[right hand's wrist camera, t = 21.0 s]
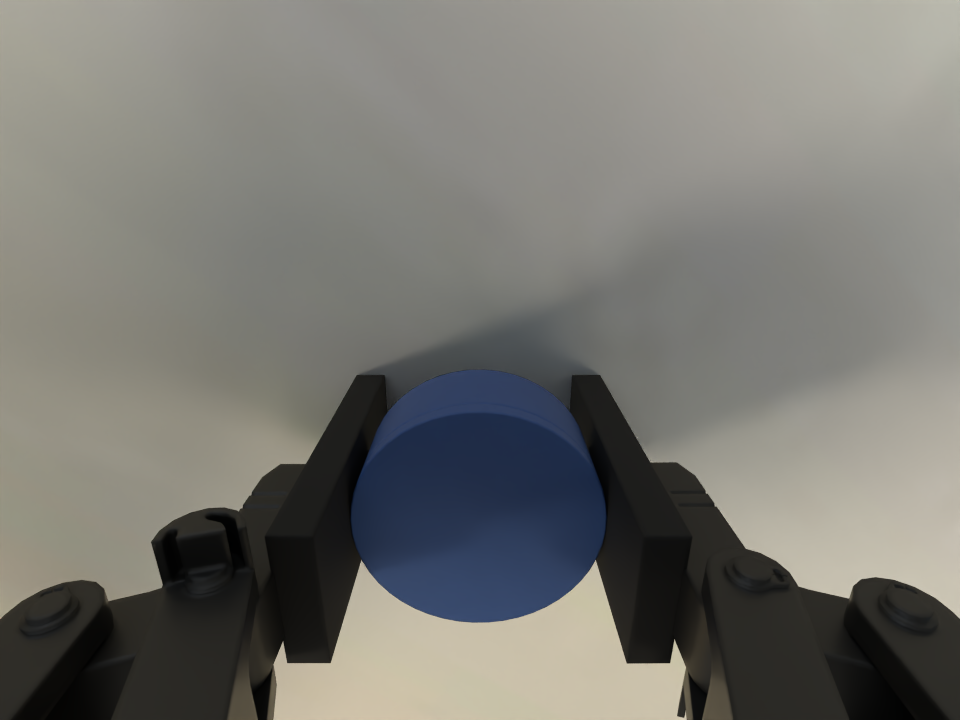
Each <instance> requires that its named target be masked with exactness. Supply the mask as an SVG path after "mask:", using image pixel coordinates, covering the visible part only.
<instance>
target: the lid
mask: <svg viewBox="0 0 960 720" xmlns="http://www.w3.org/2000/svg"><path fill="white" fill-rule="evenodd" d="M350 521H351V529H352V535H353V539H354V542H355V546H356V549H357V551H358V553H359V555H360V557H361V559H362V561H363V563H364V564H365V566H366V568H367V569H368V571H369V572H370V573H371V575H372V576H373V577H374V578H375V579H376V580H377V582H378V583H379V584H380V585H382V586H383V587H384V588H385V589H386V590H387V591H388V592H389V593H391V594H392V595H393V596H395V597H396V598H398V599H399V600H401V601H402V602H404V603H406V604H408V605H409V606H411V607H413V608H415V609H417V610H420V611H422V612H425V613H427V614H430V615H433V616H437V617H440V618H444V619H449V620H454V621H462V622H496V621H504V620H509V619H514V618H518V617H521V616H524V615H528V614H531V613H534V612H536V611H538V610H540V609H542V608H545V607H547V606H549V605H550V604H552V603H554V602H555V601H557V600H559V599H560V598H562V597H563V596H564V595H566V594H567V593H568V592H570V591H571V590H572V589H573V588H574V587H575V586H576V585H577V584H578V583H579V582H580V581H581V580H582V579H583V578H584V576H585V575H586V574H587V573H588V571H589V570H590V569H591V567H592V565H593V563H594V562H595V560H596V558H597V556H598V554H599V552H600V549H601V547H602V544H603V540H604V536H605V532H606V522H607V510H606V501H605V497H604V493H603V489H602V486H601V483H600V481H599V478H598V475H597V472H596V470H595V467H594V464H593V462H592V459H591V456H590V453H589V451H588V448H587V445H586V443H585V440H584V437H583V435H582V432H581V430H580V428H579V425H578V424H577V422H576V420H575V419H574V417H573V416H572V414H571V413H570V412H569V410H568V409H567V408H566V407H565V406H564V404H563V403H562V402H560V401H559V400H558V399H557V398H556V397H555V396H554V395H553V394H551V393H550V392H548V391H547V390H546V389H544V388H543V387H541V386H539V385H537V384H535V383H534V382H532V381H530V380H527V379H525V378H522V377H519V376H517V375H514V374H509V373H505V372H501V371H492V370H465V371H458V372H452V373H448V374H445V375H441V376H438V377H435V378H433V379H431V380H428V381H426V382H424V383H422V384H420V385H418V386H417V387H415V388H413V389H412V390H410V391H409V392H408V393H406V394H405V395H404V396H403V397H401V398H400V399H399V400H398V401H397V402H396V403H395V404H394V405H393V406H392V407H391V409H390V410H389V411H388V413H387V414H386V415H385V417H384V418H383V420H382V422H381V424H380V425H379V427H378V429H377V432H376V434H375V437H374V439H373V442H372V445H371V447H370V450H369V452H368V455H367V458H366V460H365V463H364V465H363V468H362V471H361V473H360V476H359V478H358V481H357V484H356V487H355V489H354V492H353V497H352V502H351V515H350Z"/></svg>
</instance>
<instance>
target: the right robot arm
mask: <svg viewBox="0 0 960 720" xmlns="http://www.w3.org/2000/svg"><path fill="white" fill-rule="evenodd" d="M570 413H571V414H572V416H573V417H574V419H575V420H576V422H577V424H578V425H579V428H580V430H581V432H582V435H583V437H584V440H585V443H586V445H587V448H588V451H589V453H590V456H591V459H592V462H593V464H594V467H595V470H596V472H597V475H598V478H599V481H600V483H601V486H602V489H603V493H604V497H605V501H606V510H607V522H606V532H605V536H604V540H603V544H602V547H601V549H600V552H599V554H598V556H597V558H596V562H597V565H598V568H599V572H600V575H601V578H602V582H603V585H604V588H605V592H606V595H607V598H608V602H609V605H610V609H611V612H612V615H613V619H614V622H615V625H616V629H617V632H618V635H619V639H620V642H621V645H622V649H623V652H624V655H625V659H626V662H627V663H670V661H671V655H672V649H673V644H674V639H675V641H676V644H677V646H678V648H679V651H680V653H681V656H682V658H683V661H684V663H685V665H686V671H685V676H684V681H683V686H682V691H681V697H680V702H679V708H678V714H677V716H679V717H683V718H684V716H685V711H686V716H687V720H960V619H959V618H958V617H957V616H956V615H955V614H954V613H953V612H952V611H951V610H950V609H948V608H947V607H946V606H944V605H943V604H942V603H941V602H939V601H938V600H937V599H936V598H934V597H932V596H930V595H928V594H927V593H925V592H923V591H921V590H919V589H917V588H915V587H913V586H910V585H907V584H904V583H901V582H898V581H896V580H891V579H884V578H877V577H874V578H868V579H861V580H860V581H859V582H858V583H857V584H855V585H854V586H853V589H852V592H851V595H850V598H849V599H848V598H843V597H839V596H834V595H830V594H826V593H821V592H817V591H812V590H808V589H805V588H801V587H798V585H797V583H796V582H795V580H794V579H793V577H792V576H791V574H790V573H789V572H788V571H787V570H786V569H785V568H784V567H782V566H781V565H780V564H779V563H778V562H776V561H775V560H773V559H771V558H769V557H767V556H765V555H763V554H761V553H758V552H755V551H751V550H748V549H745V547H744V546H743V544H742V543H741V541H740V540H739V538H738V537H737V536H736V534H735V533H734V531H733V530H732V528H731V527H730V525H729V524H728V523H727V521H726V520H725V518H724V517H723V515H722V514H721V512H720V511H719V510H718V508H717V507H715V506H714V502H713V501H712V499H711V498H710V497H709V495H708V494H706V491H705V489H704V488H703V486H702V485H701V484H700V482H699V481H698V479H697V478H696V476H695V475H694V474H692V473H691V472H689V471H688V470H686V469H685V468H684V467H682V466H681V465H679V464H678V463H650V461H649V460H648V458H647V456H646V454H645V453H644V451H643V449H642V447H641V446H640V444H639V442H638V440H637V439H636V437H635V435H634V434H633V432H632V430H631V428H630V427H629V425H628V423H627V421H626V420H625V418H624V416H623V414H622V413H621V411H620V409H619V407H618V406H617V404H616V402H615V400H614V399H613V397H612V395H611V393H610V392H609V390H608V388H607V386H606V385H605V383H604V381H603V380H602V378H601V376H600V375H572V389H571V404H570ZM386 414H387V403H386V389H385V375H357V376H356V378H355V379H354V381H353V383H352V385H351V386H350V388H349V390H348V392H347V393H346V395H345V397H344V399H343V400H342V402H341V404H340V406H339V407H338V409H337V411H336V413H335V414H334V416H333V418H332V420H331V421H330V423H329V425H328V426H327V428H326V430H325V432H324V433H323V435H322V437H321V439H320V440H319V442H318V444H317V446H316V447H315V449H314V451H313V453H312V454H311V456H310V458H309V460H308V461H307V463H306V464H280V465H279V466H277V467H276V468H275V469H273V470H272V471H270V472H269V473H268V474H266V475H265V476H263V477H262V478H261V480H260V481H259V483H258V484H257V486H256V487H255V489H254V490H253V492H252V495H251V496H249V497H248V499H247V500H246V502H245V503H244V505H243V509H240V510H239V512H238V511H236V510H232V509H228V508H207V509H203V510H199V511H195V512H191V513H189V514H187V515H184V516H182V517H180V518H178V519H176V520H174V521H172V522H171V523H169V524H168V525H167V526H165V527H164V528H163V529H161V530H160V531H159V532H158V533H157V535H156V536H155V537H154V539H153V540H152V541H151V543H152V547H153V551H154V554H155V558H156V561H157V565H158V569H159V572H160V576H161V579H162V583H163V586H162V588H161V589H157V590H154V591H151V592H147V593H142V594H138V595H134V596H129V597H125V598H121V599H116V600H112V601H108V599H107V596H106V593H105V590H104V588H102V587H101V586H100V585H99V584H98V583H96V582H92V581H85V580H79V581H72V582H65V583H61V584H58V585H56V586H53V587H50V588H47V589H44V590H42V591H40V592H38V593H36V594H34V595H32V596H31V597H29V598H27V599H25V600H23V601H22V602H20V603H19V604H18V605H17V606H15V607H14V608H13V609H12V610H10V611H9V612H8V613H7V614H5V615H4V616H3V617H2V618H1V619H0V720H273V717H274V707H275V696H276V686H277V684H276V677H275V671H274V666H273V664H274V661H275V659H276V657H277V654H278V652H279V649H280V647H281V644H282V642H284V647H285V653H286V658H287V663H331V660H332V656H333V653H334V650H335V646H336V643H337V640H338V636H339V633H340V630H341V626H342V623H343V620H344V616H345V613H346V609H347V606H348V603H349V599H350V596H351V593H352V589H353V586H354V583H355V579H356V576H357V573H358V569H359V566H360V562H361V557H360V555H359V553H358V551H357V549H356V546H355V542H354V539H353V535H352V529H351V521H350V515H351V502H352V497H353V492H354V489H355V487H356V484H357V481H358V478H359V476H360V473H361V471H362V468H363V465H364V463H365V460H366V458H367V455H368V452H369V450H370V447H371V445H372V442H373V439H374V437H375V434H376V432H377V429H378V427H379V425H380V424H381V422H382V420H383V418H384V417H385V415H386Z"/></svg>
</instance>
